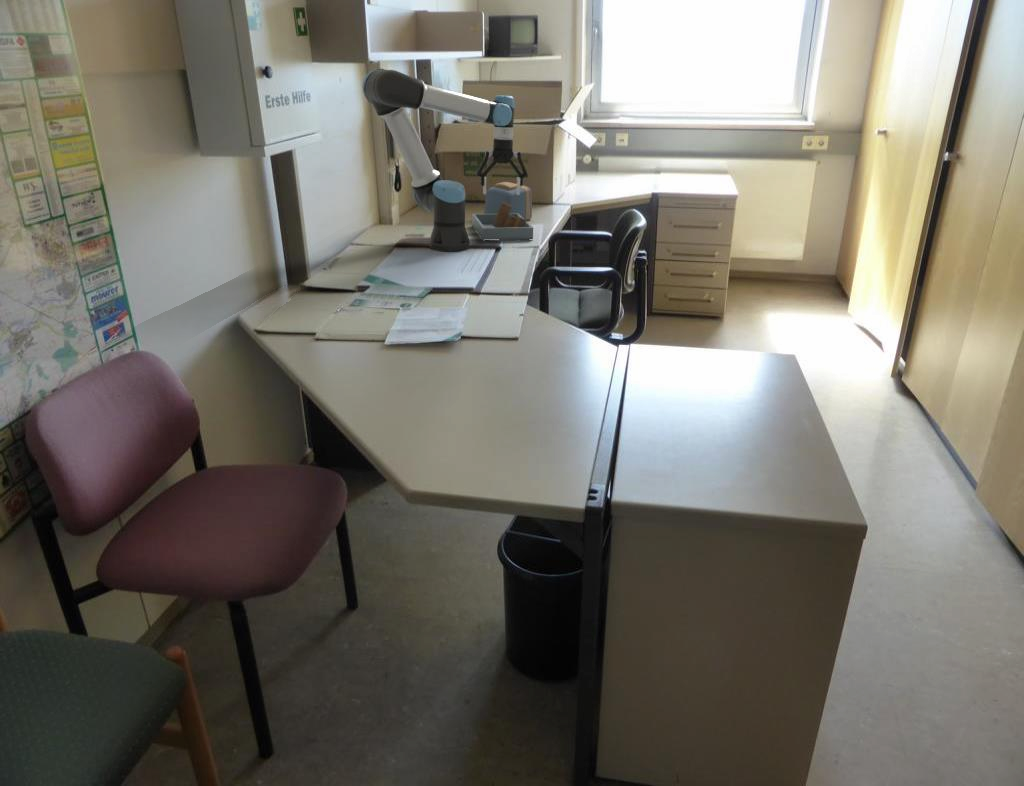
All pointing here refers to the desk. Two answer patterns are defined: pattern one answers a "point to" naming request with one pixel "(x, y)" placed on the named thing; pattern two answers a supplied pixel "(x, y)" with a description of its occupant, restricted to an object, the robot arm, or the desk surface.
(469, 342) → the desk surface
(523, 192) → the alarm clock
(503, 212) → the wooden block set
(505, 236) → the crate
